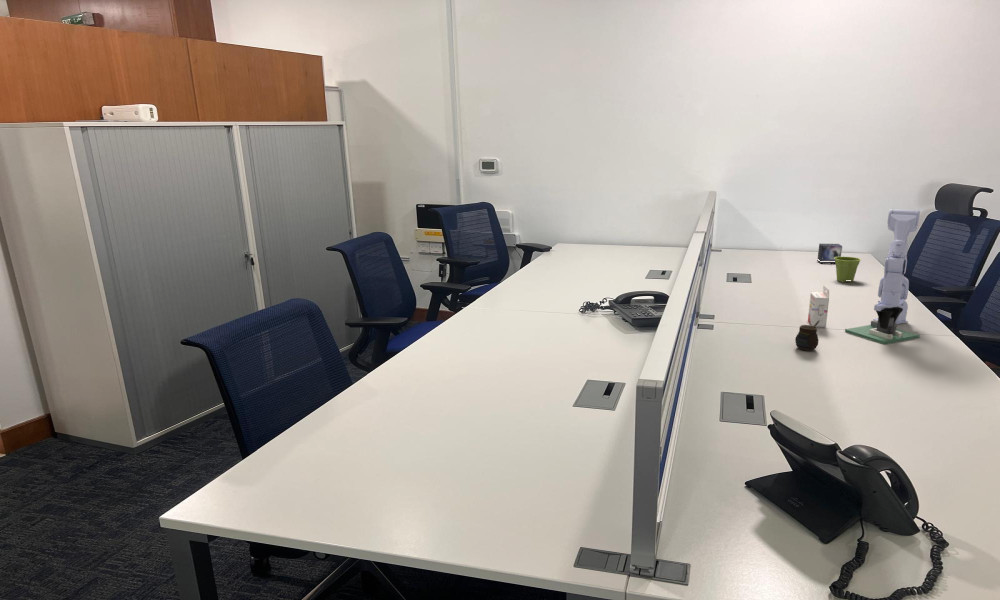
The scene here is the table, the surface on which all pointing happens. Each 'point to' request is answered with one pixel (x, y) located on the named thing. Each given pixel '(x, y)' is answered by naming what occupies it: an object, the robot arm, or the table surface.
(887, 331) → the plug
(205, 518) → the table surface
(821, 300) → the ink cartridge box
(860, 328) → the board
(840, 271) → the plant pot
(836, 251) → the small box
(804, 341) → the mate gourd
